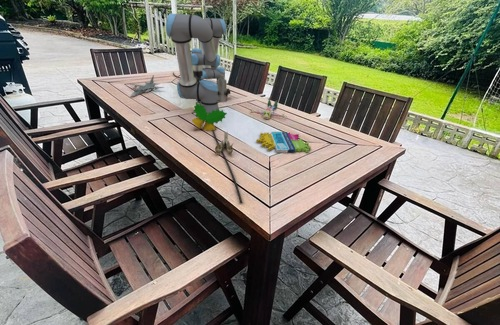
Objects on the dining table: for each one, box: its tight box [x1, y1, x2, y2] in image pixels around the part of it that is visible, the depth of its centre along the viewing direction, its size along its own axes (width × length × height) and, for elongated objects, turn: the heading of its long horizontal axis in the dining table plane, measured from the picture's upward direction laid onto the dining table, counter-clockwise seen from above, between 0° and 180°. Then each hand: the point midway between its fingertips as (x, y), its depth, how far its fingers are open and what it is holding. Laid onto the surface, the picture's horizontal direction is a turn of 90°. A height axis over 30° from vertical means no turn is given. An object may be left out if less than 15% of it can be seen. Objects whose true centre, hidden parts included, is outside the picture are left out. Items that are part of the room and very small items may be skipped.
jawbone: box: [214, 131, 234, 156], centre depth 136 cm, size 9×15×10 cm
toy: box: [249, 99, 287, 120], centre depth 196 cm, size 28×7×30 cm
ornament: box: [191, 101, 228, 132], centre depth 162 cm, size 21×8×15 cm, turn 105°
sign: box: [256, 131, 312, 154], centre depth 152 cm, size 26×2×30 cm
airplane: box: [129, 74, 165, 98], centre depth 227 cm, size 38×31×10 cm
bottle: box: [216, 75, 227, 103], centre depth 215 cm, size 7×7×21 cm
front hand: (198, 100), depth 211 cm, fingers closed on cap, 4 cm apart
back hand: (222, 94), depth 212 cm, fingers closed on bottle, 7 cm apart
